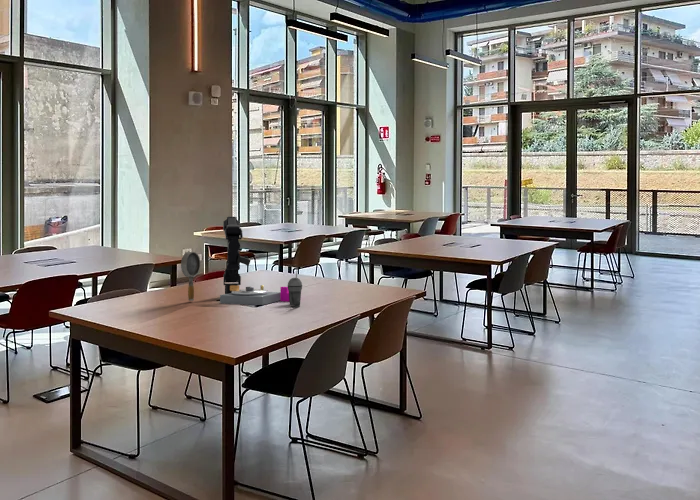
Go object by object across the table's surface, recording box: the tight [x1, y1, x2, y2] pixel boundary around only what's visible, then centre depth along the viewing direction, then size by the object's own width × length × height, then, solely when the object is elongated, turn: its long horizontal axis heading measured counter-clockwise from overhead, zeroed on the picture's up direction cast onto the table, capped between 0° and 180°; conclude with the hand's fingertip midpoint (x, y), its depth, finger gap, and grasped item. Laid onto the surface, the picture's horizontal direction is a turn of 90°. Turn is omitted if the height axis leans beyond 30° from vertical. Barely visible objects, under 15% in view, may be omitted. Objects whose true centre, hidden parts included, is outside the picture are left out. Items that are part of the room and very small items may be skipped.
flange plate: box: [230, 285, 269, 295], centre depth 325 cm, size 20×18×4 cm
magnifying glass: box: [180, 251, 201, 302], centre depth 330 cm, size 13×3×25 cm, turn 160°
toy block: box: [279, 286, 290, 303], centre depth 334 cm, size 15×6×8 cm, turn 162°
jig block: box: [219, 291, 280, 306], centre depth 326 cm, size 23×23×4 cm
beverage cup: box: [287, 268, 303, 309], centre depth 314 cm, size 7×7×20 cm
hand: (233, 282), depth 321 cm, fingers closed
